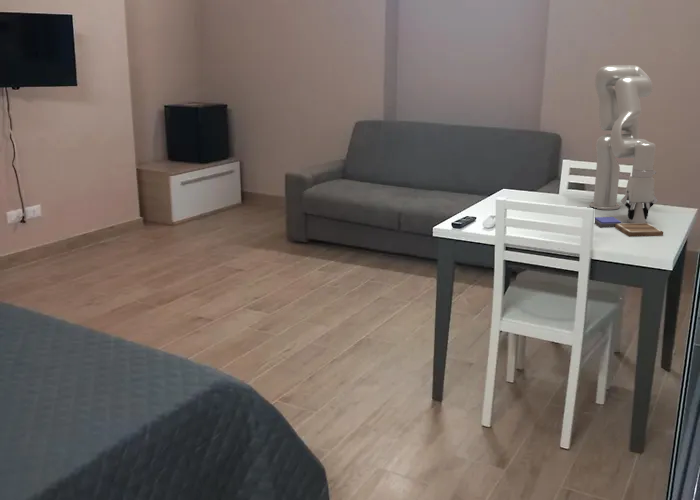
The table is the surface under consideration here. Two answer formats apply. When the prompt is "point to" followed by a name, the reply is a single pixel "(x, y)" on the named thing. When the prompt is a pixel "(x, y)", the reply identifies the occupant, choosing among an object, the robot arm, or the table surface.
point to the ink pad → (606, 222)
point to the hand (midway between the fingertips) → (637, 218)
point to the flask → (638, 214)
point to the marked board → (638, 229)
